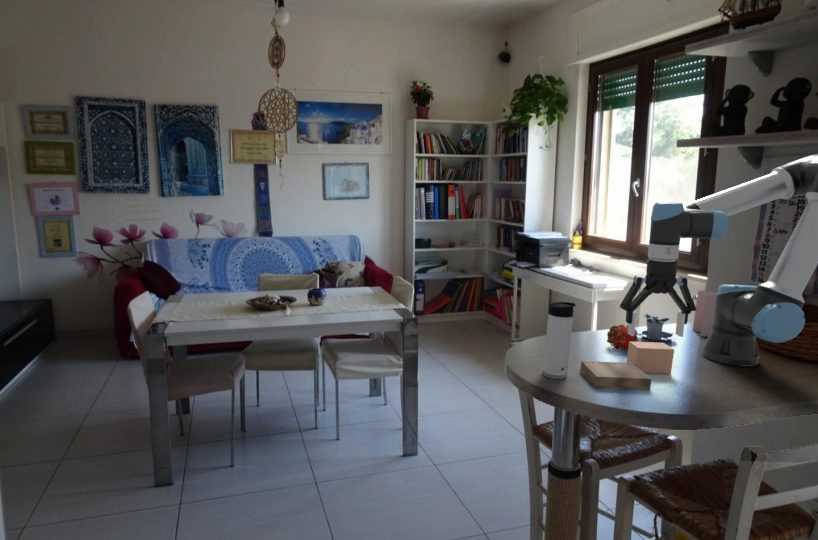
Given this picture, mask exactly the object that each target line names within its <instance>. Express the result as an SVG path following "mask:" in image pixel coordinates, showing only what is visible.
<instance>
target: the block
mask: <svg viewBox="0 0 818 540" xmlns="http://www.w3.org/2000/svg"><path fill="white" fill-rule="evenodd" d="M674 355H675V349H674V348H673V347H671V346H669V345H668V344H666V343H665V342H650V341H638V342H630V341H629V347H628V350H627V357H626V363H633V364H634V365H635V366H636V367H638V368H639V369H640V370H641V371H642V372H644V373H645V374H665V375H666V374H667V375H671V374H672V369H673V362H674Z"/></svg>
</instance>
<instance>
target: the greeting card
mask: <svg viewBox="0 0 818 540" xmlns="http://www.w3.org/2000/svg"><path fill="white" fill-rule="evenodd" d="M716 295H717V292H714V291H707V290H706V291H705V290H698V291H697V296H696V297H697V298H696V303H695V307H696V311H694V319H693V325H692V326H693V327H692V332H698V333H700V335H699V336H700V337H709V335H710V333H711V331H712V326H713V319H714V312H715V305H716V298H717V297H716Z"/></svg>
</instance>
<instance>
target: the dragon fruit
mask: <svg viewBox="0 0 818 540" xmlns="http://www.w3.org/2000/svg"><path fill="white" fill-rule="evenodd" d="M638 335H639V334H638V331H637V329H635V333H634V336H631V335H629V334H628V324H627V325H624V324H621V325H613V326H611V327H610V328H609V330H608V331H607V335H606V337H607V340H606V343H608V344H610V346H611V347H613V348H614V349H615V350H617V351H618V350H620V349H622V350H624V351H628V347H629V341H630V342H640V341H639V338H638Z"/></svg>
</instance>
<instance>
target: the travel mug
mask: <svg viewBox="0 0 818 540" xmlns="http://www.w3.org/2000/svg"><path fill="white" fill-rule="evenodd" d="M575 307H576V303H575V302H568V301H556V302H551V303H550V304H549V306H548V313H547V315H548V316H547V326H546V334H545V345H544V354H543V355H544V357H543V366H542V367H543V368H542V375H543V376H545V378H548V379H552V380H564V379H566V378H567V377H568V369H569V368H568V366H569V357H570V351H571V350H570V349H571V340H572V339H571V338H572V330H573V319H574V308H575Z"/></svg>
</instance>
